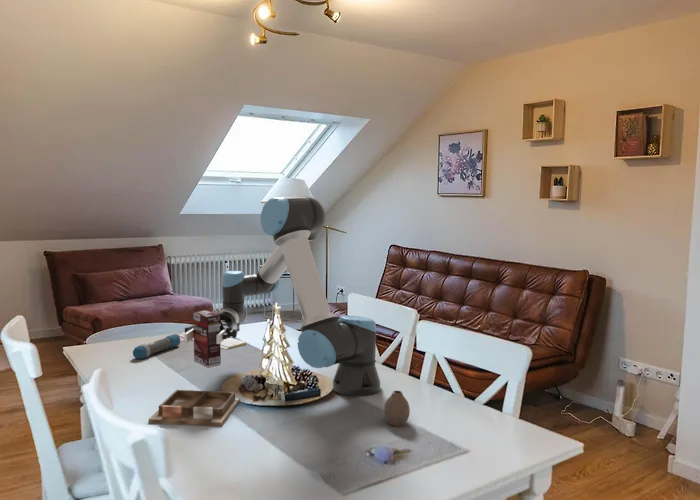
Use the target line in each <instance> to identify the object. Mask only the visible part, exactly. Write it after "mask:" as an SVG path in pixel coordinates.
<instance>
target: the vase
mask: <svg viewBox="0 0 700 500" xmlns="http://www.w3.org/2000/svg"><path fill="white" fill-rule="evenodd" d="M403 394H404V393H403V392H402V390H394V391H392V393H391V395H390V396H389V397H388V398H387V400H386V401H385V403H384V407H383V408H384V409H383V413H384V417H385V420H386V422H388V424H390V425H391V426H395V427H400V426H403V425H405V424H406V423H407V422H408V420H409V417H410V410H411V409H410V405H409V402H408V400H407V398H406V397H405V396H404V395H403Z"/></svg>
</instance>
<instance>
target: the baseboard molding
mask: <svg viewBox="0 0 700 500" xmlns="http://www.w3.org/2000/svg"><path fill="white" fill-rule="evenodd" d="M178 336H179V338H184V339H185V332H181V334H178ZM191 341H194V338H193V339H192V340H191ZM245 345H247V341H244V340H239V339H236V338H232V337H230V338H227V339H224V340H223V341H222V342H221V343H220V349H223V350H226V351H227V350H231V349H234V348H238V347H242V346H245Z"/></svg>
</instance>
